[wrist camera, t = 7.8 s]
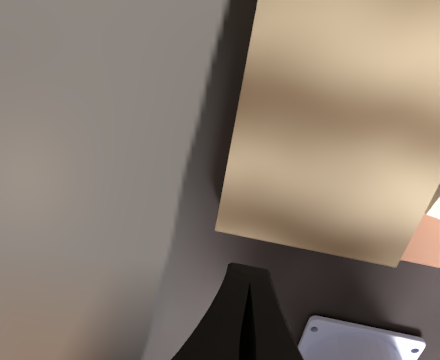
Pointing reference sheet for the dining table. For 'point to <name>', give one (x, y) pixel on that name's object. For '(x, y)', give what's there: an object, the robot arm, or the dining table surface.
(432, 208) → the card
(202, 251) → the dining table surface
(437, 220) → the mat
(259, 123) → the board
